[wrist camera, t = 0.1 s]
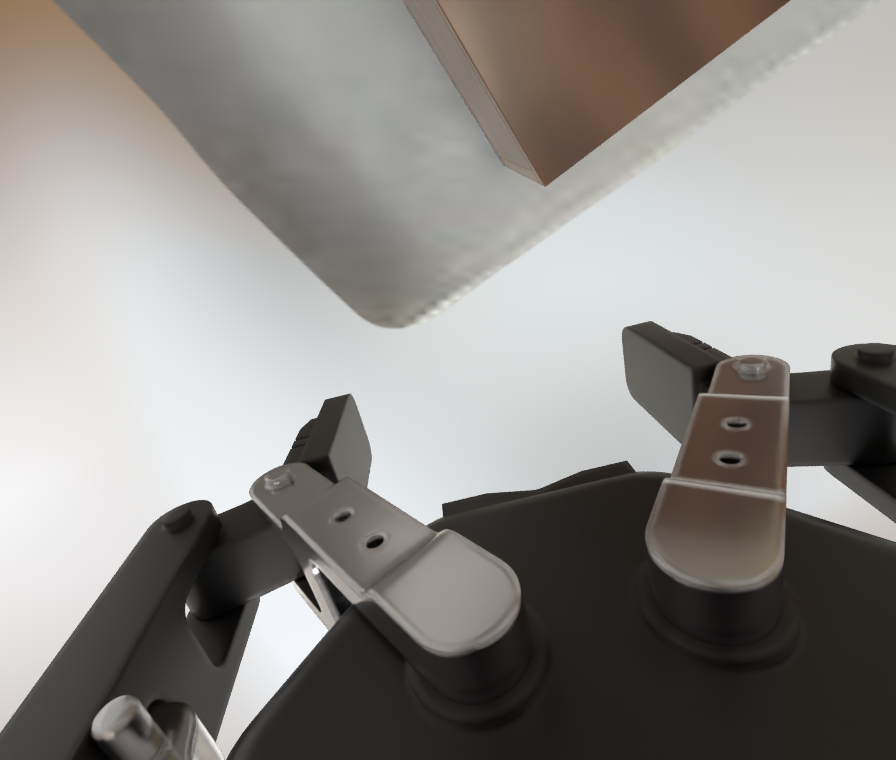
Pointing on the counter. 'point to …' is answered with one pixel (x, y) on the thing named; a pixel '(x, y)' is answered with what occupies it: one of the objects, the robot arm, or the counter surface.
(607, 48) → the cabinet
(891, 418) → the robot arm
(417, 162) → the counter surface
